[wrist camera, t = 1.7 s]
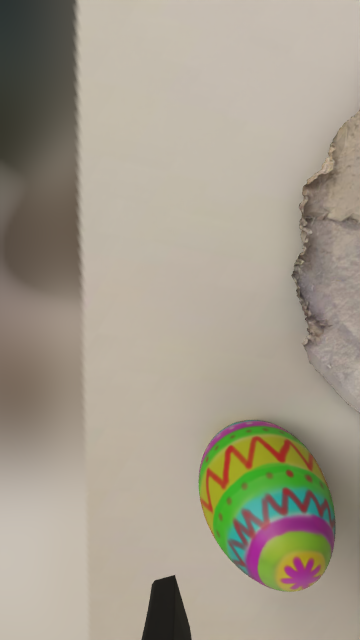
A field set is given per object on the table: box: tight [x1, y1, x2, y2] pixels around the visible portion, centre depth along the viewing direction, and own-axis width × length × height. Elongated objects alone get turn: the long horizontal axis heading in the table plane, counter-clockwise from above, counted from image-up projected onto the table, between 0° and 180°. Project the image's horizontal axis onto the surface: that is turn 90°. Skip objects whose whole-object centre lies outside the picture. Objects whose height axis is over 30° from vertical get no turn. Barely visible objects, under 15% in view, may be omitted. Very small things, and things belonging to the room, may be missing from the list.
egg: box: [199, 420, 335, 592], centre depth 12 cm, size 5×5×6 cm
